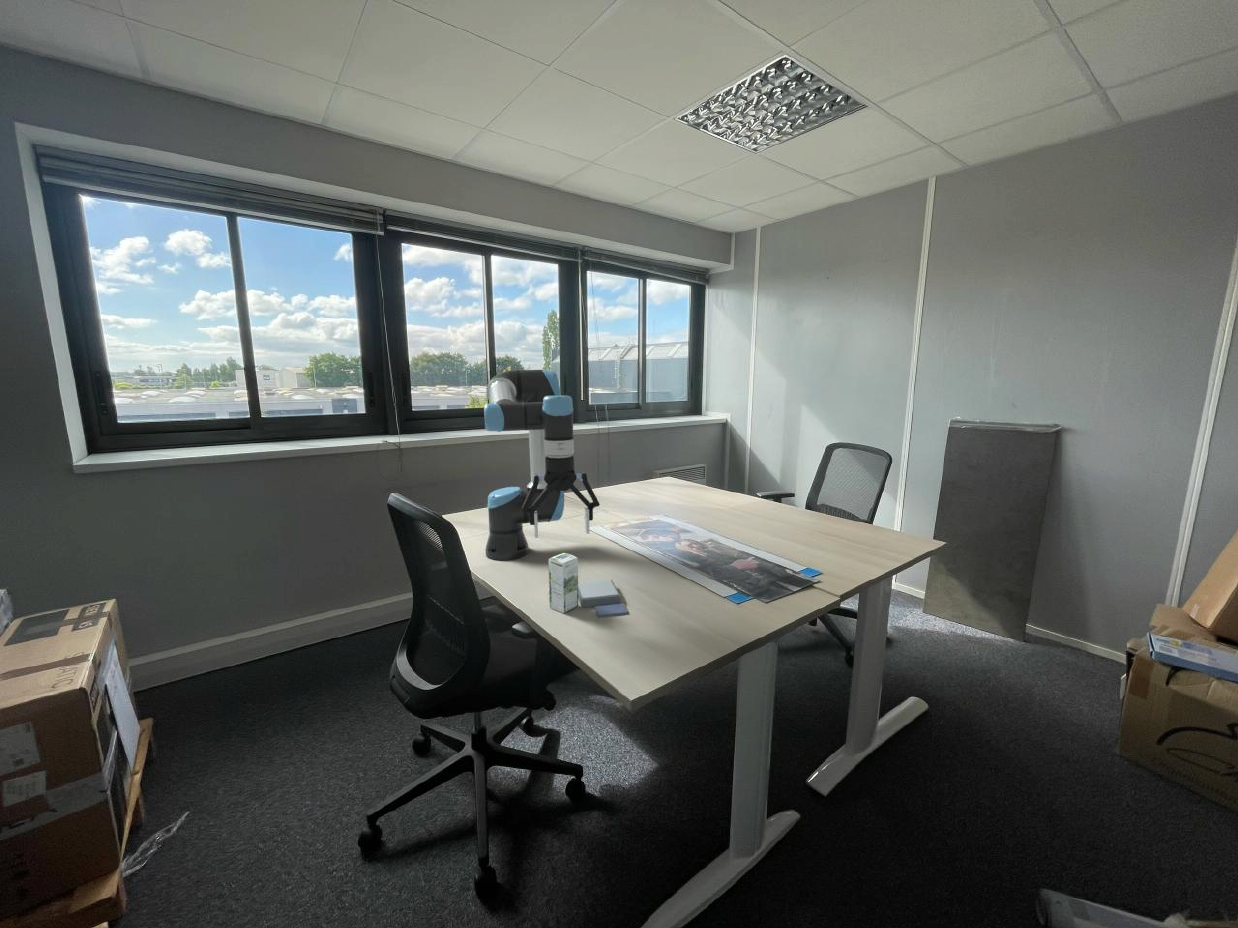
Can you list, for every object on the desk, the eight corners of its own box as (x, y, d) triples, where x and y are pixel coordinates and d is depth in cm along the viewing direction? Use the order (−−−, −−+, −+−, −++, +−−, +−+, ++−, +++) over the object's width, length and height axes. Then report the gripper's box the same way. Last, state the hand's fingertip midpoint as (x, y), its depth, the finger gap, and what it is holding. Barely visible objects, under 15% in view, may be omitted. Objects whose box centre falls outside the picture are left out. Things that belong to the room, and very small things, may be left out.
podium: (575, 590, 143) (575, 582, 143) (612, 586, 146) (612, 578, 145) (581, 607, 133) (581, 599, 132) (620, 603, 135) (620, 594, 135)
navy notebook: (595, 610, 132) (595, 606, 132) (623, 607, 134) (623, 603, 134) (598, 619, 127) (598, 615, 127) (628, 615, 129) (628, 611, 129)
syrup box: (564, 600, 137) (562, 551, 134) (579, 606, 133) (578, 556, 131) (549, 607, 133) (547, 557, 130) (564, 614, 129) (562, 562, 126)
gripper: (510, 460, 119) (514, 542, 123) (609, 455, 125) (610, 534, 128) (510, 455, 126) (514, 533, 130) (603, 451, 132) (605, 526, 136)
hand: (562, 534), depth 129 cm, fingers open, 13 cm apart
